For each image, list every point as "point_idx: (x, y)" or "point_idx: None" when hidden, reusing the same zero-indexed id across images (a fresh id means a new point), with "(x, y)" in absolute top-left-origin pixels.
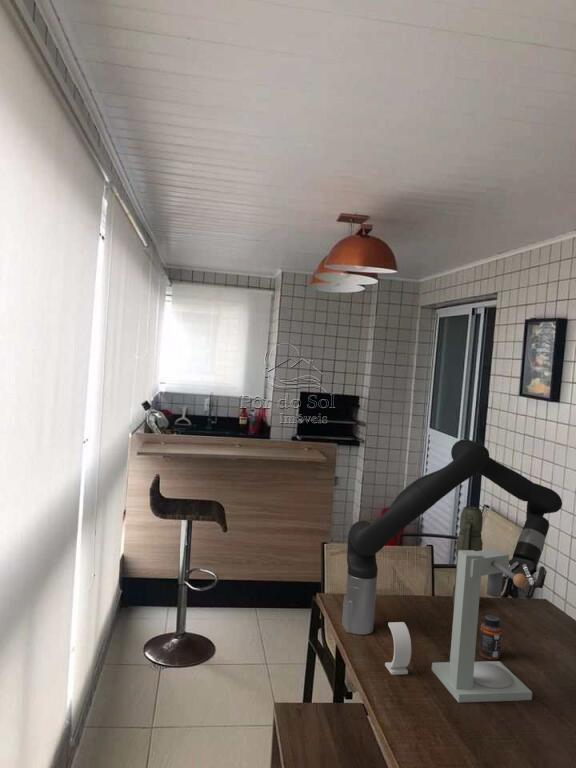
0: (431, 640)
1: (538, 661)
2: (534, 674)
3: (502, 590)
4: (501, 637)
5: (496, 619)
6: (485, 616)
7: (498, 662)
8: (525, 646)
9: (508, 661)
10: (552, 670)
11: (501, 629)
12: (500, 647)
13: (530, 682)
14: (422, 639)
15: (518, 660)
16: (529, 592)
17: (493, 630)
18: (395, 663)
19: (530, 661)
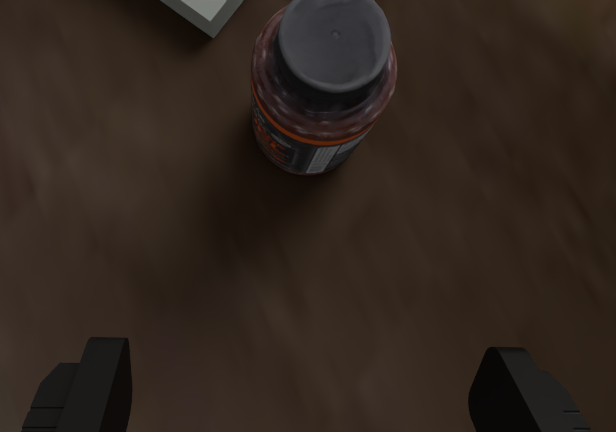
0: (577, 51)
1: (98, 288)
2: (59, 121)
3: (475, 408)
4: (253, 100)
5: (296, 28)
6: (385, 18)
7: (206, 3)
8: (225, 418)
9: (212, 151)
10: (4, 246)
11: (254, 73)
12: (252, 113)
13: (43, 24)
14: (609, 25)
15: (180, 206)
16: (64, 403)
17: (284, 9)
18: None
19: (130, 250)
